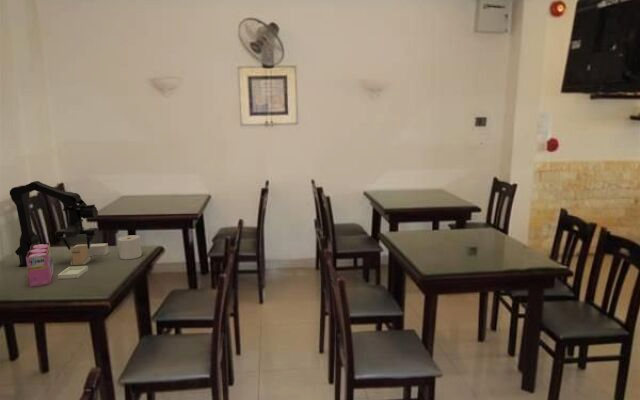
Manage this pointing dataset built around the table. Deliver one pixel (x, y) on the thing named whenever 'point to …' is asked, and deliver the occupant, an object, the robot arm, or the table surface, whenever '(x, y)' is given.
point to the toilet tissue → (129, 247)
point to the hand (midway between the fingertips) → (79, 249)
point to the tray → (72, 272)
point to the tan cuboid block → (79, 254)
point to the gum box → (40, 264)
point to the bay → (95, 251)
